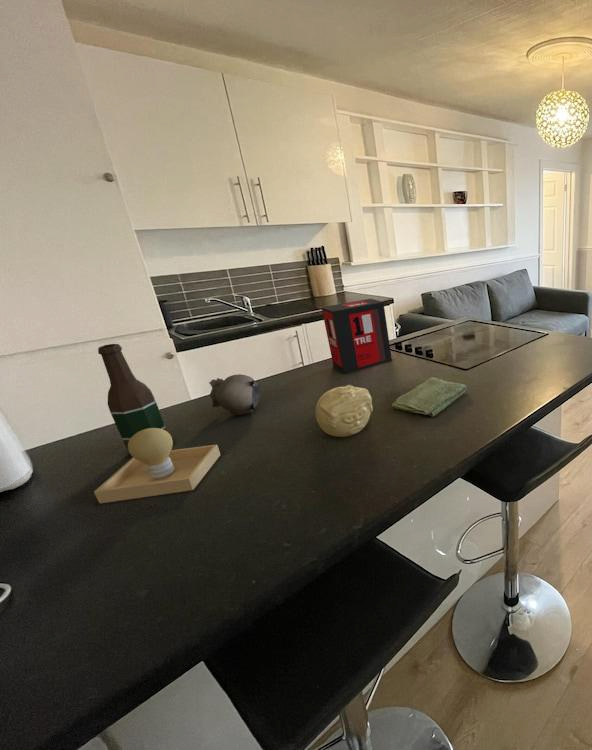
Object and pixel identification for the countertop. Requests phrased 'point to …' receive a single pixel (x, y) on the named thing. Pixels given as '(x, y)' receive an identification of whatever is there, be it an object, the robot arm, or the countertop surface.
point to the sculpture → (344, 410)
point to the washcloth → (430, 397)
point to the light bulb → (153, 451)
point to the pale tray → (139, 484)
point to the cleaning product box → (357, 334)
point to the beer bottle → (128, 396)
